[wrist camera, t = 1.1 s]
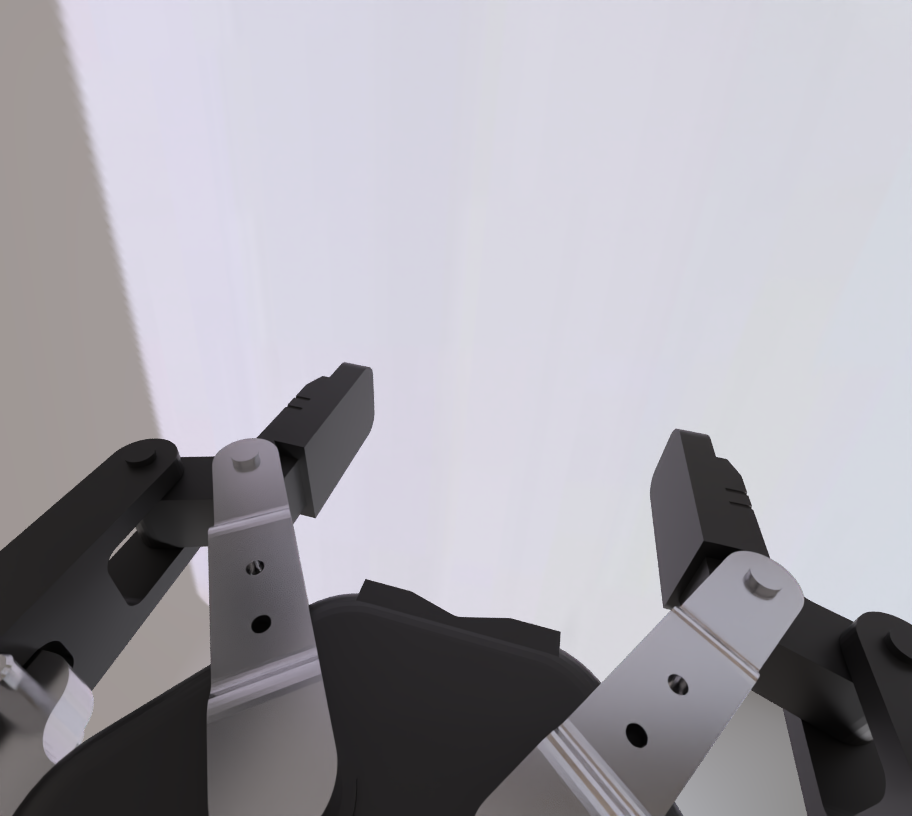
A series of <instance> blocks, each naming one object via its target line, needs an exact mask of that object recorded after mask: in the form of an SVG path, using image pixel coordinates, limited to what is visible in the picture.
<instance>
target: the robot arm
mask: <svg viewBox="0 0 912 816" xmlns="http://www.w3.org/2000/svg"><path fill="white" fill-rule="evenodd" d="M373 421H374V389H373V372H372V369H371V368H370V367H366V366H361V365H356V364H351V363H345V362H344V363H342V364H341V365H340V366H339V367H338V368H337V370H336V371H335V372H334V373H333V374H332V375H331V376H330V377H325V376H322V377H320V378H318V379H316V380H314V381H312V382H310V383H308V384H307V385H306V386H305V387H304V388H303V389H302V390H301V391H300V392H299V393H298V394H297V395H296V398H294V399H293V400H292V401H291V402H290V403H289V404H288V407H285V408H284V409H283V410H282V411H281V412H280V414H279V415H278V416H277V417H276V418H275V419H274V420H273V421H272V422H271V423H270V424H269V425H268V426H267V427H266V429H265V430H264V431H263V432H262V433H261V434H260V435H259V436H258V437H257V438H249V439H243V440H239V441H236V442H233V443H231V444H229V445H227V446H225V447H224V448H222V449H221V450H220V451H219V452H218V453H217V454H216V456H213V457H180V455H179V452H178V450H177V447H176V446H175V444H173V443H172V442H170V441H168V440H164V439H145V440H140V441H137V442H134V443H131V444H129V445H127V446H125V447H123V448H121V449H119V450H118V451H116V452H115V453H114V454H113V455H111V456H110V457H109V458H108V459H107V460H106V461H105V462H103V463H102V464H101V465H100V466H99V467H98V468H96V469H95V470H94V471H93V472H92V473H91V474H89V475H88V476H87V477H86V478H85V479H83V480H82V481H81V482H80V483H79V484H78V485H76V486H75V487H74V488H73V489H72V490H71V491H70V492H68V493H67V494H66V495H65V496H64V497H63V498H61V499H60V500H59V501H58V502H57V503H56V504H54V505H53V506H52V507H51V508H50V509H49V510H47V511H46V512H45V513H44V514H43V515H42V516H40V517H39V518H38V519H37V520H36V521H35V522H33V523H32V524H31V525H30V526H29V527H28V528H27V529H25V530H24V531H23V532H22V533H21V534H20V535H19V536H17V537H16V538H15V539H14V540H13V541H11V542H10V543H9V544H8V545H7V546H6V547H4V548H3V549H2V550H1V551H0V816H683V815H682V813H681V811H680V810H679V808H678V806H677V805H676V803H675V800H676V799H677V797H678V796H679V794H680V793H681V791H682V790H683V788H684V787H685V785H686V784H687V782H688V781H689V780H690V778H691V777H692V775H693V774H694V772H695V771H696V769H697V768H698V766H699V765H700V763H701V762H702V761H703V759H704V757H705V756H706V755H707V753H708V752H709V750H710V749H711V747H712V746H713V744H714V743H715V741H716V740H717V739H718V737H719V736H720V734H721V733H722V731H723V730H724V728H725V727H726V725H727V724H728V722H729V721H730V719H731V718H732V716H733V715H734V714H735V712H736V711H737V709H738V708H739V706H740V705H741V703H742V702H743V700H744V699H745V697H746V696H747V695H748V693H749V692H750V690H752V691H754V692H755V693H757V694H759V695H761V696H762V697H764V698H766V699H768V700H769V701H771V702H773V703H774V704H777V705H778V706H780V707H781V708H783V711H784V715H785V719H786V724H787V729H788V733H789V737H790V741H791V746H792V750H793V755H794V759H795V763H796V768H797V772H798V776H799V781H800V785H801V790H802V794H803V798H804V803H805V807H806V811H807V816H912V625H911V624H910V623H908V622H906V621H904V620H902V619H900V618H898V617H895V616H893V615H890V614H886V613H882V612H867V613H864V614H862V615H861V616H860V617H858V618H857V619H856V620H855V621H854V622H853V621H851V620H849V619H847V618H845V617H842V616H840V615H838V614H836V613H834V612H832V611H830V610H828V609H826V608H824V607H822V606H820V605H818V604H816V603H814V602H812V601H810V600H808V599H807V598H805V597H804V595H803V592H802V589H801V587H800V585H799V583H798V582H797V581H796V579H795V578H794V577H793V576H792V575H791V574H790V572H788V571H787V570H786V569H785V568H784V567H783V566H781V565H780V564H779V563H777V562H775V561H774V560H772V559H770V557H769V554H768V551H767V548H766V545H765V542H764V539H763V537H762V534H761V531H760V528H759V525H758V522H757V519H756V517H755V514H754V511H753V510H752V509H751V507H752V505H751V502H750V499H749V496H747V491H746V488H745V485H744V482H743V479H742V476H741V475H740V474H739V473H738V471H737V470H736V469H735V468H734V467H733V466H732V464H731V463H730V462H729V461H728V460H727V459H723V458H718V457H716V456H715V453H714V449H713V446H712V443H711V439H710V437H709V436H708V435H706V434H701V433H696V432H691V431H686V430H681V429H675V430H674V431H673V432H672V434H671V436H670V438H669V440H668V442H667V445H666V447H665V449H664V451H663V454H662V456H661V458H660V460H659V463H658V465H657V467H656V469H655V472H654V474H653V477H652V482H651V488H650V500H651V508H652V517H653V525H654V534H655V542H656V550H657V559H658V567H659V576H660V584H661V593H662V601H663V608H666V609H670V610H671V611H670V612H669V613H668V614H667V615H666V616H665V617H664V618H663V619H662V620H661V621H660V622H659V623H658V624H657V625H656V626H655V628H654V629H653V630H652V631H651V632H650V633H649V634H648V635H647V636H646V637H645V638H644V639H643V640H642V641H641V642H640V643H639V644H638V645H637V646H636V647H635V648H634V649H633V651H632V652H631V653H630V654H629V655H628V656H627V657H626V658H625V659H624V660H623V661H622V662H621V663H620V664H619V665H618V666H617V667H616V668H615V669H614V670H613V671H612V673H611V674H610V675H609V676H608V677H607V678H606V679H605V680H604V681H603V682H602V683H601V682H600V681H599V680H598V679H597V678H596V677H595V676H594V675H593V674H592V672H591V671H590V670H588V669H587V668H586V667H585V666H584V665H583V664H582V663H581V662H579V661H578V660H577V659H575V658H574V657H572V656H571V655H570V654H568V653H567V652H565V651H563V650H562V649H560V633H561V632H559V631H556V630H552V629H548V628H545V627H541V626H537V625H534V624H530V623H526V622H522V621H519V620H515V619H511V618H475V617H457V616H454V615H452V614H450V613H448V612H447V611H445V610H443V609H441V608H440V607H438V606H436V605H434V604H433V603H431V602H429V601H427V600H425V599H424V598H422V597H420V596H418V595H417V594H415V593H413V592H411V591H408V590H404V589H400V588H397V587H393V586H389V585H385V584H382V583H378V582H374V581H371V580H367V579H365V581H364V584H363V586H362V588H361V590H360V592H359V594H343V595H337V596H333V597H329V598H326V599H323V600H320V601H317V602H315V603H313V604H310V605H309V602H308V597H307V592H306V587H305V582H304V577H303V572H302V567H301V562H300V557H299V552H298V547H297V542H296V537H295V532H294V527H293V524H294V522H295V521H296V519H297V518H298V516H299V515H300V514H301V515H305V516H309V517H313V518H316V517H317V515H318V513H319V512H320V510H321V509H322V507H323V505H324V504H325V502H326V501H327V499H328V498H329V496H330V494H331V493H332V491H333V490H334V488H335V487H336V485H337V483H338V482H339V480H340V479H341V477H342V476H343V474H344V472H345V471H346V469H347V468H348V466H349V465H350V463H351V461H352V460H353V458H354V457H355V455H356V454H357V452H358V450H359V449H360V447H361V446H362V444H363V442H364V441H365V439H366V438H367V436H368V435H369V433H370V431H371V428H372V425H373ZM135 527H136V529H137V531H136V532H135V533H134V534H133V535H132V536H131V537H130V539H129V540H128V541H127V542H126V543H125V544H124V545H123V546H122V547H121V548H120V549H119V550H118V552H117V553H116V554H115V555H114V556H113V557H112V558H111V559H110V560H109V558H110V556H111V554H112V553H113V551H114V550H115V548H116V547H117V546H118V545H119V544H120V543H121V542H122V541H123V540H124V539H125V538H126V536H127V535H128V534H129V533H130V532H131V531H132V530H133V529H134V528H135ZM203 546H208V563H209V608H210V651H211V664H210V665H209V666H207V667H205V668H204V669H202V670H200V671H199V672H197V673H195V674H194V675H192V676H191V677H189V678H187V679H186V680H184V681H182V682H181V683H179V684H178V685H176V686H174V687H172V688H171V689H169V690H167V691H166V692H164V693H163V694H161V695H160V696H158V697H156V698H154V699H153V700H151V701H149V702H148V703H147V704H144V705H143V706H141V707H140V708H138V709H136V710H135V711H133V712H132V713H130V714H128V715H127V716H125V717H123V718H121V719H120V720H118V721H117V722H115V723H113V724H112V725H110V726H108V727H107V728H105V729H104V730H102V731H100V732H99V733H97V734H95V735H94V736H92V737H91V738H89V739H88V740H86V741H84V742H83V743H82V744H81V742H82V740H83V737H84V729H85V727H86V725H87V723H88V722H89V719H90V717H91V714H92V711H93V704H94V699H93V694H92V692H91V691H92V690H93V689H94V687H95V686H96V684H97V683H98V682H99V681H100V679H101V678H102V677H103V675H104V674H105V673H106V671H107V670H108V669H109V667H110V666H111V665H112V663H113V662H114V660H115V659H116V658H117V657H118V655H119V654H120V653H121V651H122V650H123V649H124V648H125V646H126V645H127V644H128V642H129V641H130V640H131V638H132V637H133V636H134V634H135V633H136V632H137V630H138V629H139V628H140V626H141V625H142V624H143V622H144V621H145V620H146V618H147V617H148V616H149V615H150V613H151V612H152V611H153V609H154V608H155V607H156V605H157V604H158V603H159V601H160V600H161V599H162V597H163V596H164V595H165V593H166V592H167V591H168V589H169V588H170V587H171V585H172V584H173V583H174V581H175V580H176V579H177V577H178V576H179V575H180V573H181V572H182V571H183V569H184V568H185V567H186V566H187V564H188V563H189V562H190V560H191V559H192V558H193V556H194V555H195V554H196V552H197V551H198V550H199V548H200V547H203Z"/></svg>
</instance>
